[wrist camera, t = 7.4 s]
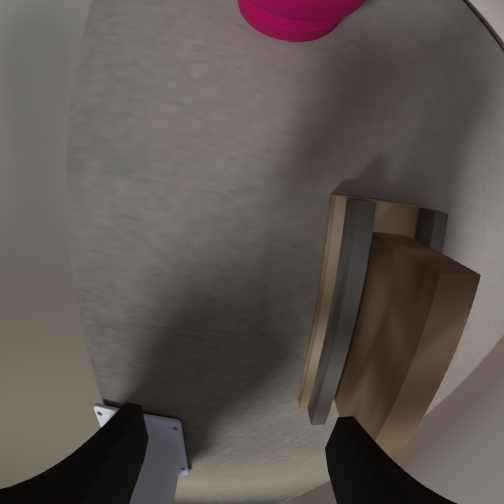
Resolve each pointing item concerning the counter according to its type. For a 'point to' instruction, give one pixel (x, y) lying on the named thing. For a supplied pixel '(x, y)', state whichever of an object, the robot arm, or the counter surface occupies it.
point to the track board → (352, 284)
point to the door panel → (403, 337)
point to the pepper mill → (296, 17)
